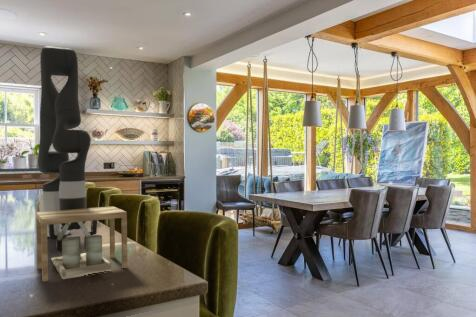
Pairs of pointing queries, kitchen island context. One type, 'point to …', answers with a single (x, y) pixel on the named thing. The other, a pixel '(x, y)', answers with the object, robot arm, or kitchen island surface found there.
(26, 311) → the kitchen island surface
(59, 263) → the tray
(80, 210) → the oak shelf
